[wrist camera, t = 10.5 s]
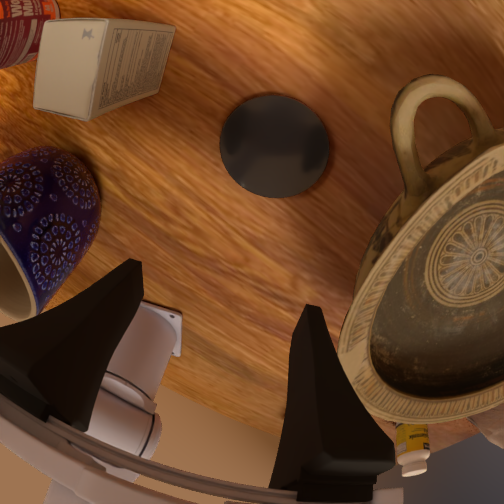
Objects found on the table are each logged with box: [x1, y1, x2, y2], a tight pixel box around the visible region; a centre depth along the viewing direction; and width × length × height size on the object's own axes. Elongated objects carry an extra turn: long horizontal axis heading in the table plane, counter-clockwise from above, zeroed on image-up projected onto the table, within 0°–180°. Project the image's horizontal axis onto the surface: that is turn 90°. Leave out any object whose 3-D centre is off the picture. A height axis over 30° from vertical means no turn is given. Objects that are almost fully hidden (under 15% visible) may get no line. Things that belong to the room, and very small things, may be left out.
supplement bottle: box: [396, 422, 430, 476], centre depth 35 cm, size 5×5×10 cm
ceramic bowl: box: [337, 74, 504, 424], centre depth 16 cm, size 30×24×10 cm
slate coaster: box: [220, 94, 329, 198], centre depth 19 cm, size 7×7×1 cm
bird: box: [466, 403, 504, 449], centre depth 24 cm, size 5×14×15 cm, turn 157°
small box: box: [33, 18, 176, 121], centre depth 13 cm, size 5×4×8 cm
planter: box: [0, 146, 101, 322], centre depth 19 cm, size 11×11×11 cm
